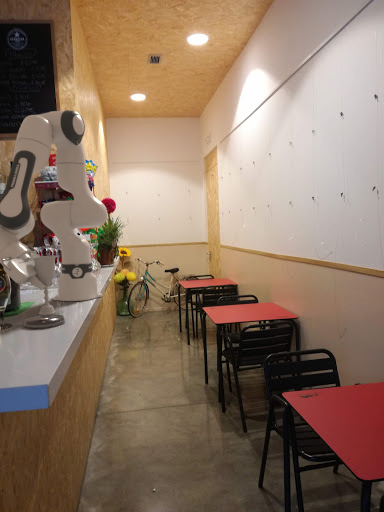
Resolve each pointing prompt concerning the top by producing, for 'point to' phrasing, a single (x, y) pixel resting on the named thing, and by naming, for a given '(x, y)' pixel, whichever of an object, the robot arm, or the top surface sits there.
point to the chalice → (45, 278)
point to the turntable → (44, 321)
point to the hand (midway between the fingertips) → (47, 286)
